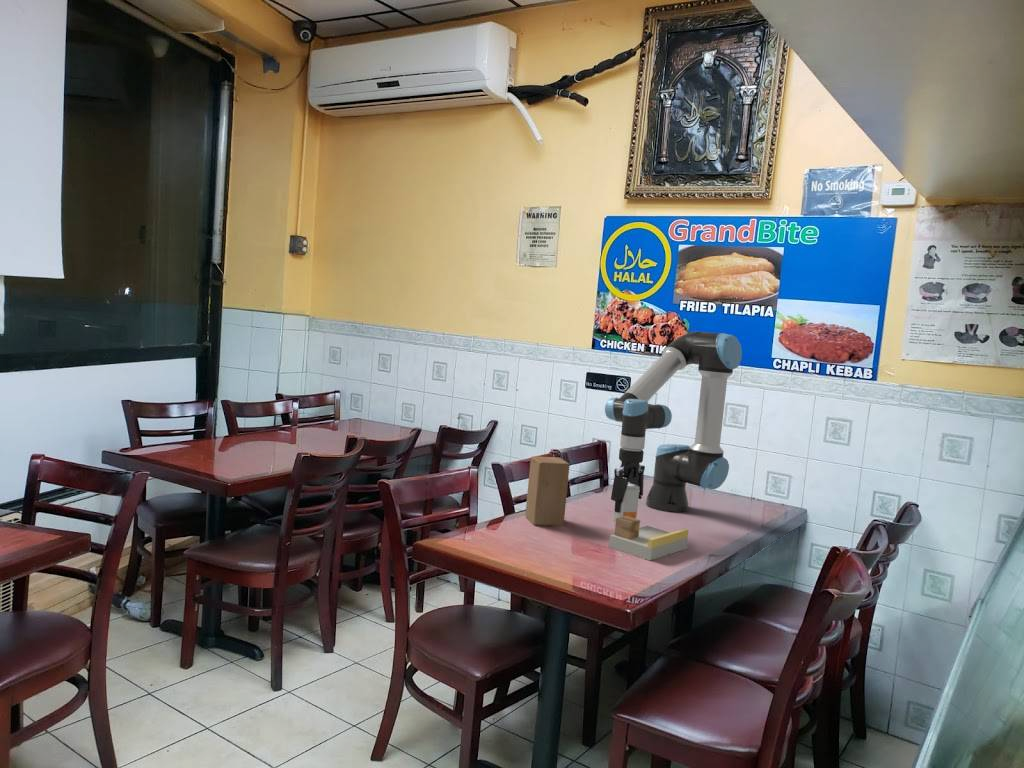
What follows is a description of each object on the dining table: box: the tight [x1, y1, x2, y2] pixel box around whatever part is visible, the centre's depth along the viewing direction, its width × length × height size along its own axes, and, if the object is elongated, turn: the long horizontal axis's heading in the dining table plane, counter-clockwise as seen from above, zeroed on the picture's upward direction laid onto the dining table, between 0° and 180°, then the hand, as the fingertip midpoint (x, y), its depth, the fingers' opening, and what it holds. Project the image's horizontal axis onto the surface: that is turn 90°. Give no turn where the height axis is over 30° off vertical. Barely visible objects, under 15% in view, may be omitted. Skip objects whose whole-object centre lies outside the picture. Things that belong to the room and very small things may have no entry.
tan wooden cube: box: [614, 516, 641, 539], centre depth 220 cm, size 5×5×5 cm
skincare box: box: [613, 483, 640, 519], centre depth 238 cm, size 6×4×12 cm
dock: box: [608, 525, 689, 561], centre depth 222 cm, size 20×14×6 cm
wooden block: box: [524, 455, 570, 527], centre depth 240 cm, size 10×10×20 cm
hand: (625, 520), depth 239 cm, fingers closed on skincare box, 7 cm apart
